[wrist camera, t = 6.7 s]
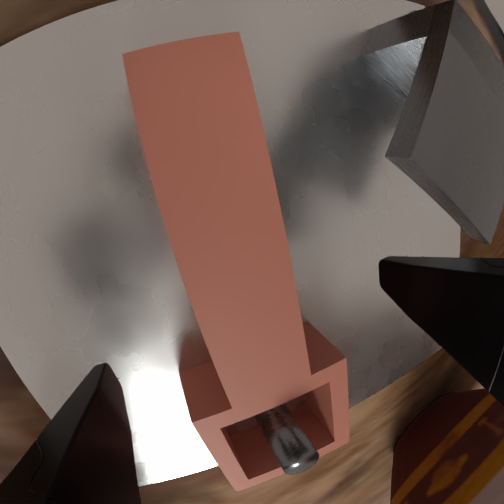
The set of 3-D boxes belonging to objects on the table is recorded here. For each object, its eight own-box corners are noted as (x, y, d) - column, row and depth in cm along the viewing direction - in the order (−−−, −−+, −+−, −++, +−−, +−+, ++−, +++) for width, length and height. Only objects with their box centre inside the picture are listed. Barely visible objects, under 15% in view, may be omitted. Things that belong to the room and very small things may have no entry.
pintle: (278, 398, 14) (320, 463, 10) (249, 410, 14) (286, 479, 10) (272, 378, 14) (317, 445, 10) (242, 390, 14) (280, 462, 9)
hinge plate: (447, 340, 19) (451, 343, 19) (118, 486, 13) (119, 492, 13) (420, 6, 11) (426, 4, 11) (-70, 96, 6) (-76, 95, 5)
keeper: (401, 216, 14) (490, 245, 9) (309, 154, 12) (410, 158, 7) (441, 104, 13) (523, 103, 9) (366, 30, 11) (455, -1, 6)
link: (321, 406, 16) (349, 441, 13) (219, 449, 14) (236, 491, 12) (254, 56, 10) (290, 28, 7) (84, 96, 8) (64, 73, 6)
